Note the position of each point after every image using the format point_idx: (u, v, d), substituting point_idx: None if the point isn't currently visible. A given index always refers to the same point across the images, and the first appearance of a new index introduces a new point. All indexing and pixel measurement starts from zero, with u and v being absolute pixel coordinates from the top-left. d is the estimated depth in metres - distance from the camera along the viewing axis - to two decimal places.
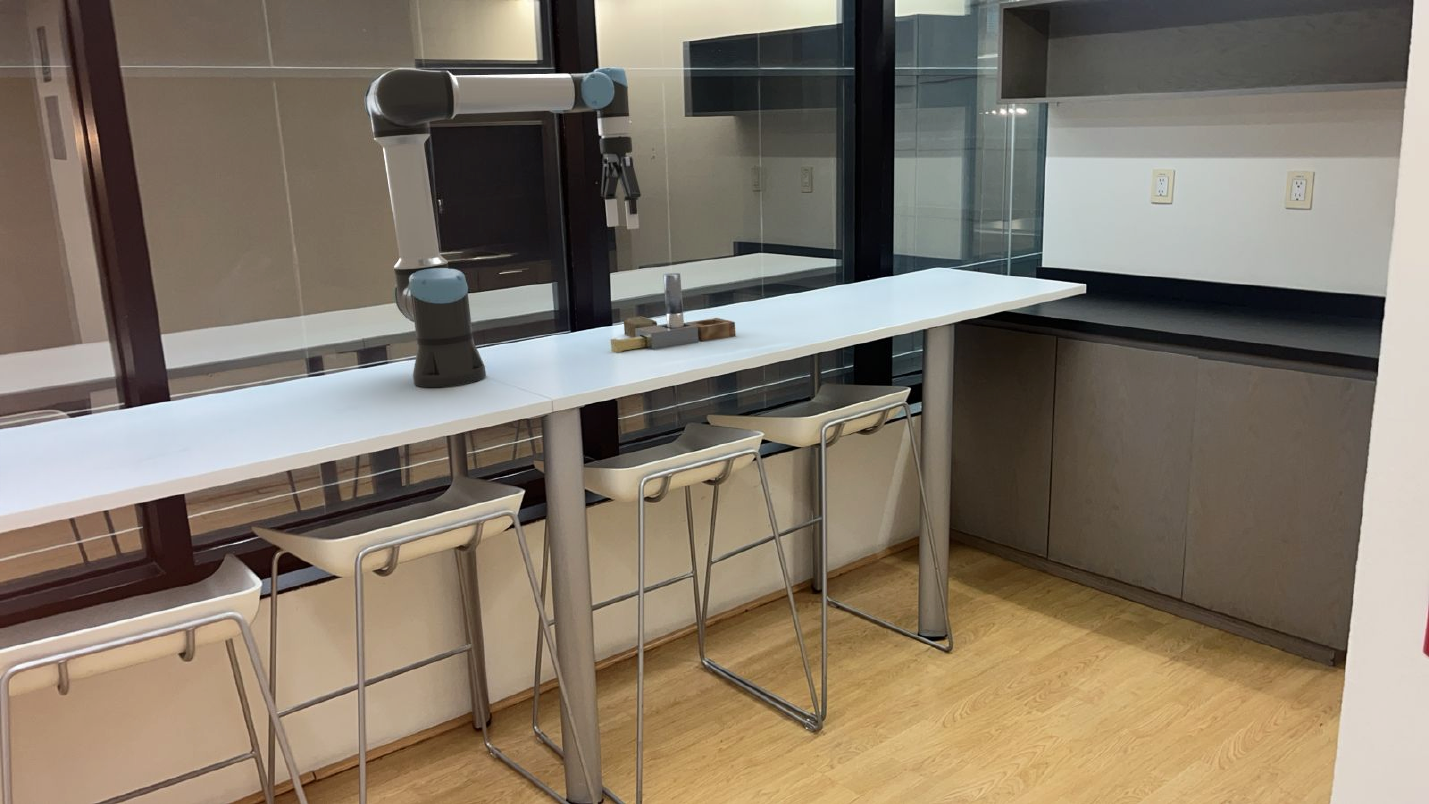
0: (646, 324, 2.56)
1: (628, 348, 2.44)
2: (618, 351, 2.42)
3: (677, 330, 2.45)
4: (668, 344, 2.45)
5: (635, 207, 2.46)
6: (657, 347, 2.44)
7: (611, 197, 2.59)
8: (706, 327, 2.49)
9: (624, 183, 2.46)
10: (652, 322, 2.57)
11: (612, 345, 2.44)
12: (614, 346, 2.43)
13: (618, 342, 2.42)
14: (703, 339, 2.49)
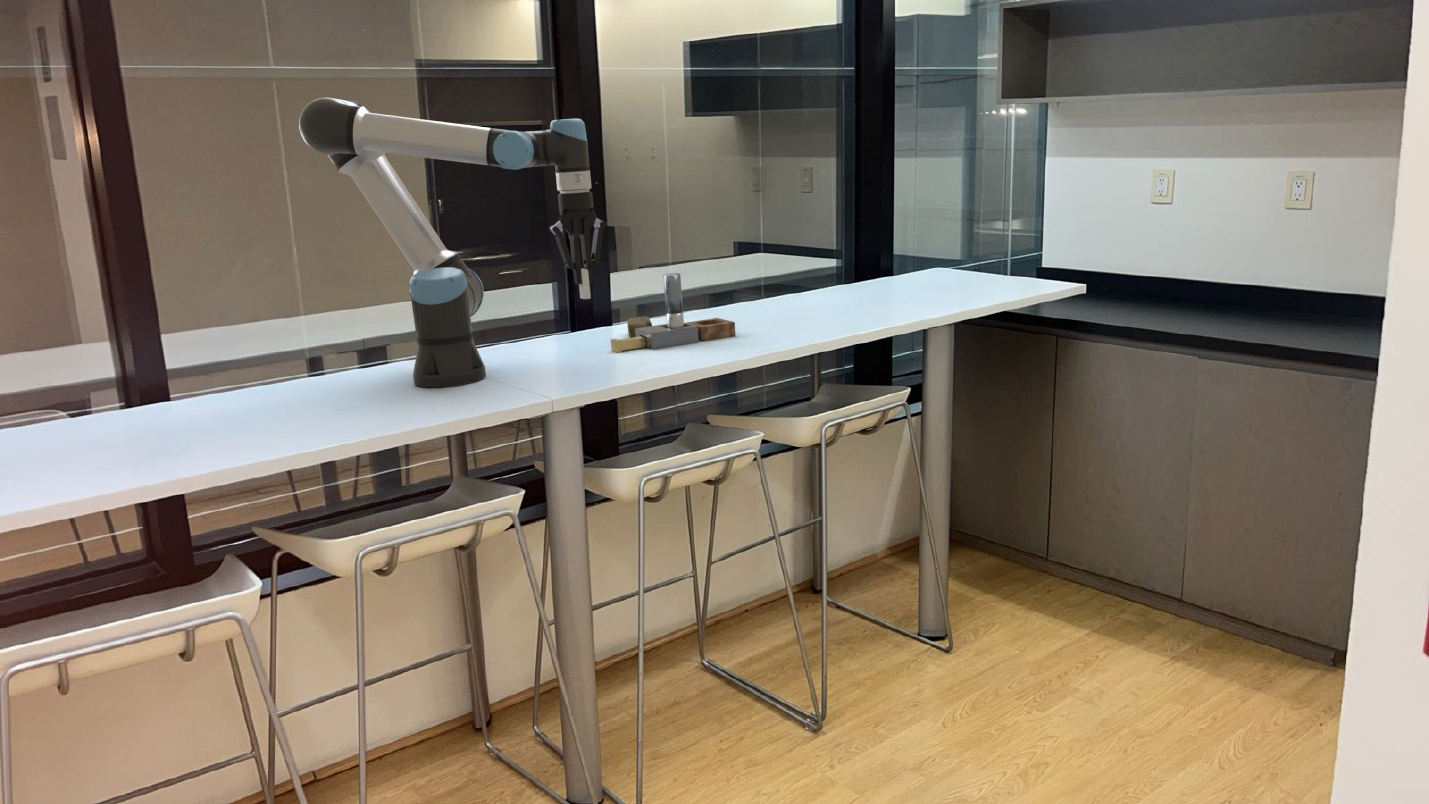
0: (640, 325, 2.56)
1: (628, 348, 2.44)
2: (618, 351, 2.42)
3: (677, 330, 2.45)
4: (668, 344, 2.45)
5: (575, 277, 2.36)
6: (657, 347, 2.44)
7: (585, 265, 2.36)
8: (706, 327, 2.49)
9: (571, 250, 2.35)
10: (646, 323, 2.56)
11: (612, 345, 2.44)
12: (614, 346, 2.43)
13: (618, 342, 2.42)
14: (703, 339, 2.49)
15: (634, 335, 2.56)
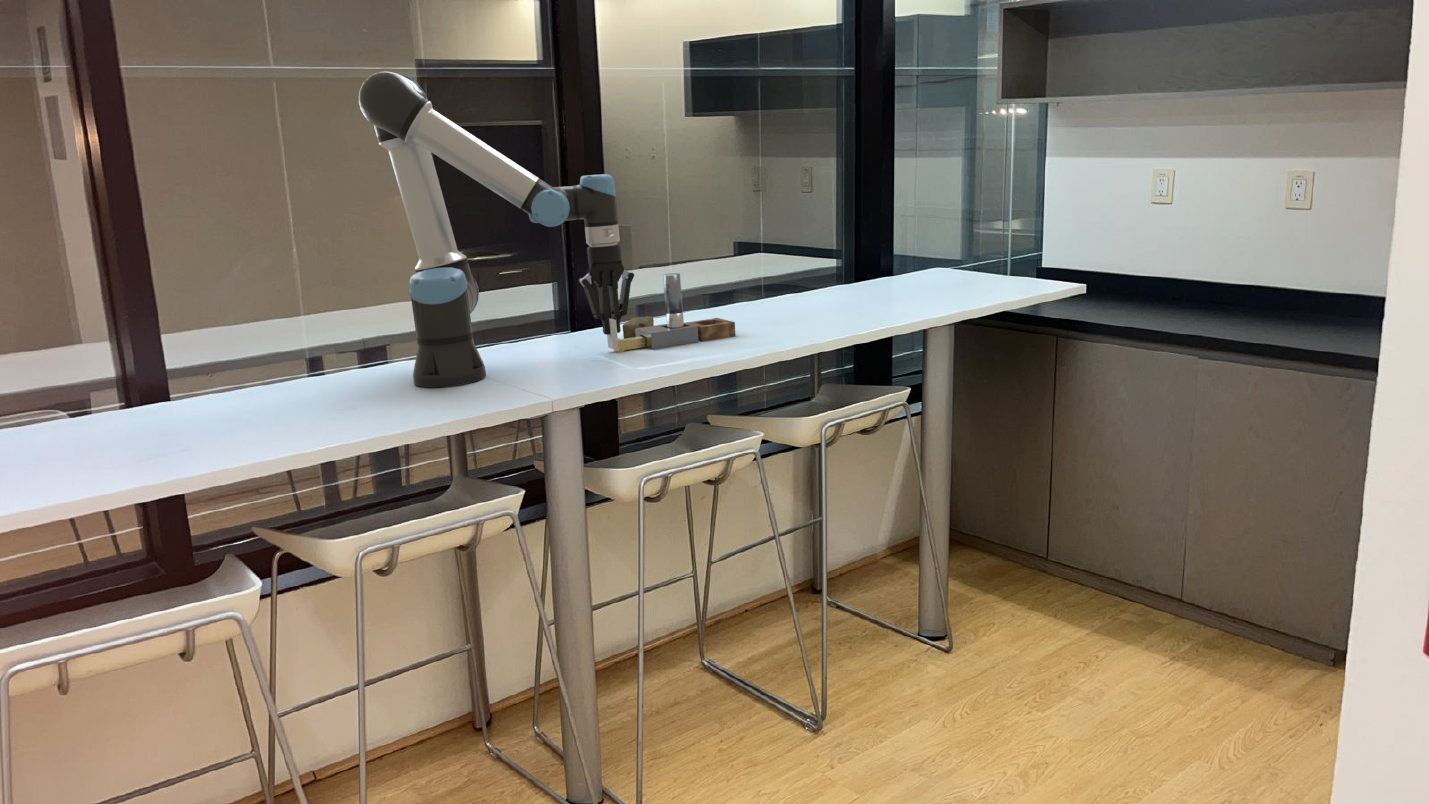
0: (632, 325, 2.56)
1: (630, 348, 2.44)
2: (620, 351, 2.43)
3: (677, 330, 2.45)
4: (668, 344, 2.45)
5: (604, 328, 2.41)
6: (657, 347, 2.44)
7: (613, 315, 2.41)
8: (706, 327, 2.49)
9: (599, 301, 2.40)
10: (639, 324, 2.56)
11: None
12: None
13: (620, 342, 2.42)
14: (703, 339, 2.49)
15: (627, 335, 2.57)
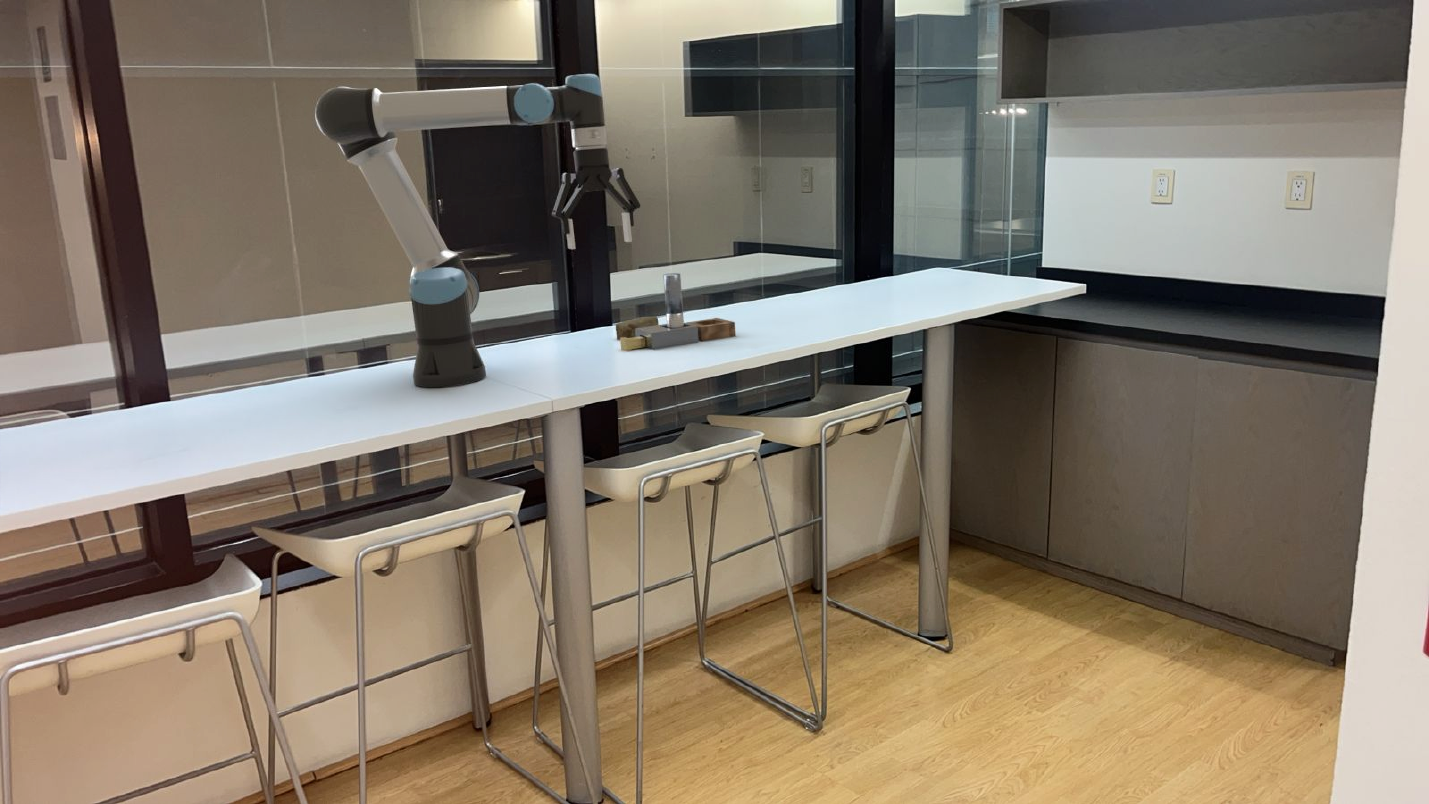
0: (623, 325, 2.57)
1: (637, 346, 2.45)
2: (628, 349, 2.43)
3: (677, 330, 2.45)
4: (668, 344, 2.45)
5: (563, 227, 2.32)
6: (657, 347, 2.44)
7: (627, 210, 2.38)
8: (706, 327, 2.49)
9: (569, 200, 2.33)
10: (629, 324, 2.56)
11: (622, 343, 2.45)
12: (624, 344, 2.44)
13: (628, 340, 2.43)
14: (703, 339, 2.49)
15: (618, 335, 2.59)
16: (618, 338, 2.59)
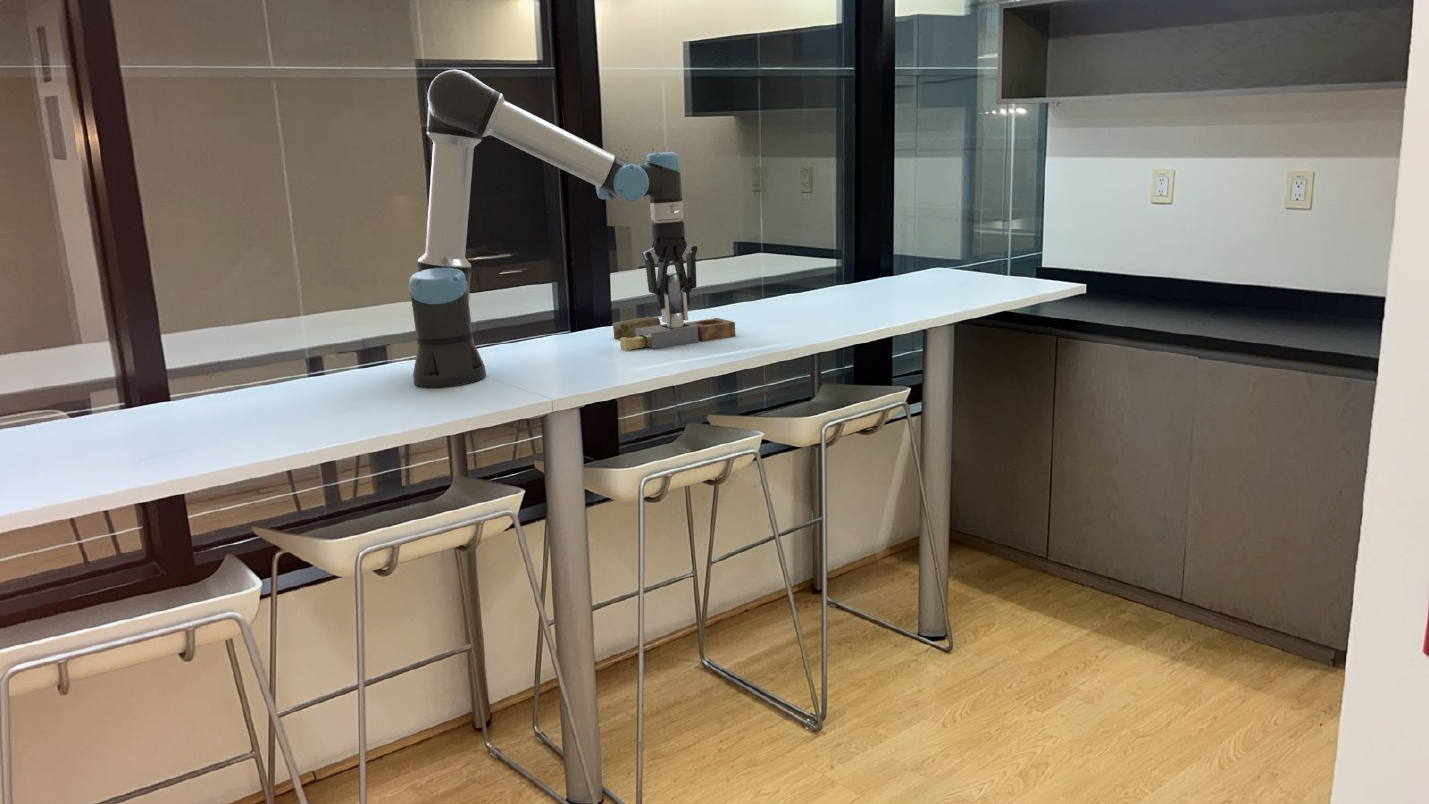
0: (616, 324, 2.59)
1: (637, 346, 2.45)
2: (628, 349, 2.43)
3: (677, 330, 2.45)
4: (668, 344, 2.45)
5: (659, 302, 2.46)
6: (657, 347, 2.44)
7: (683, 289, 2.49)
8: (706, 327, 2.49)
9: (658, 275, 2.46)
10: (621, 324, 2.58)
11: (622, 343, 2.45)
12: (624, 344, 2.44)
13: (628, 340, 2.43)
14: (703, 339, 2.49)
15: (614, 333, 2.61)
16: (614, 337, 2.61)
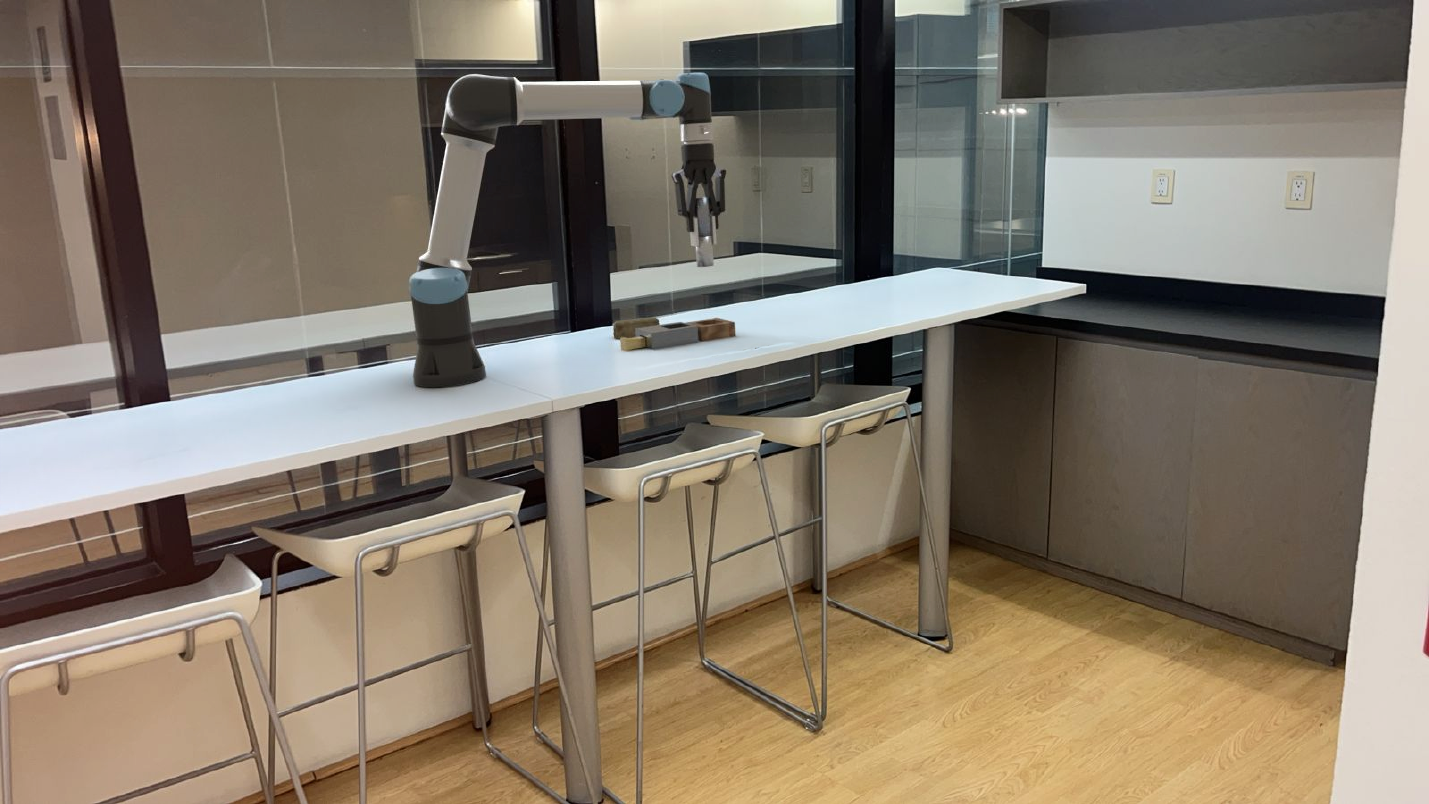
0: (614, 323, 2.61)
1: (637, 346, 2.45)
2: (628, 349, 2.43)
3: (677, 330, 2.45)
4: (668, 344, 2.45)
5: (688, 225, 2.46)
6: (657, 347, 2.44)
7: (712, 212, 2.49)
8: (706, 327, 2.49)
9: (687, 198, 2.46)
10: (616, 323, 2.59)
11: (622, 343, 2.45)
12: (624, 344, 2.44)
13: (628, 340, 2.43)
14: (703, 339, 2.49)
15: None
16: None
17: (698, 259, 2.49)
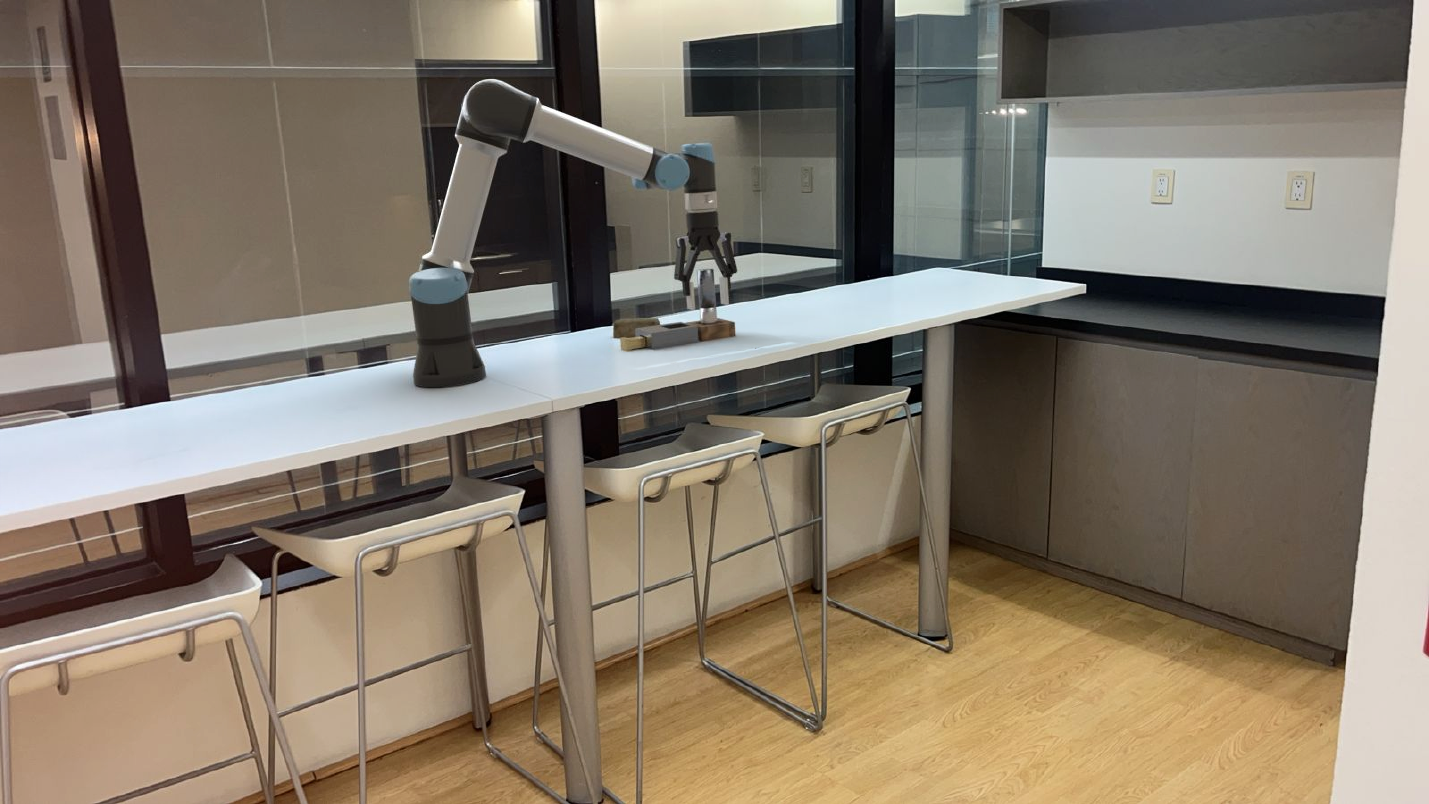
0: None
1: (637, 346, 2.45)
2: (628, 349, 2.43)
3: (677, 330, 2.45)
4: (668, 344, 2.45)
5: (684, 289, 2.49)
6: (657, 347, 2.44)
7: (724, 274, 2.53)
8: (706, 327, 2.49)
9: (686, 263, 2.49)
10: (615, 321, 2.62)
11: (622, 343, 2.45)
12: (624, 344, 2.44)
13: (628, 340, 2.43)
14: (703, 339, 2.49)
15: None
16: None
17: None
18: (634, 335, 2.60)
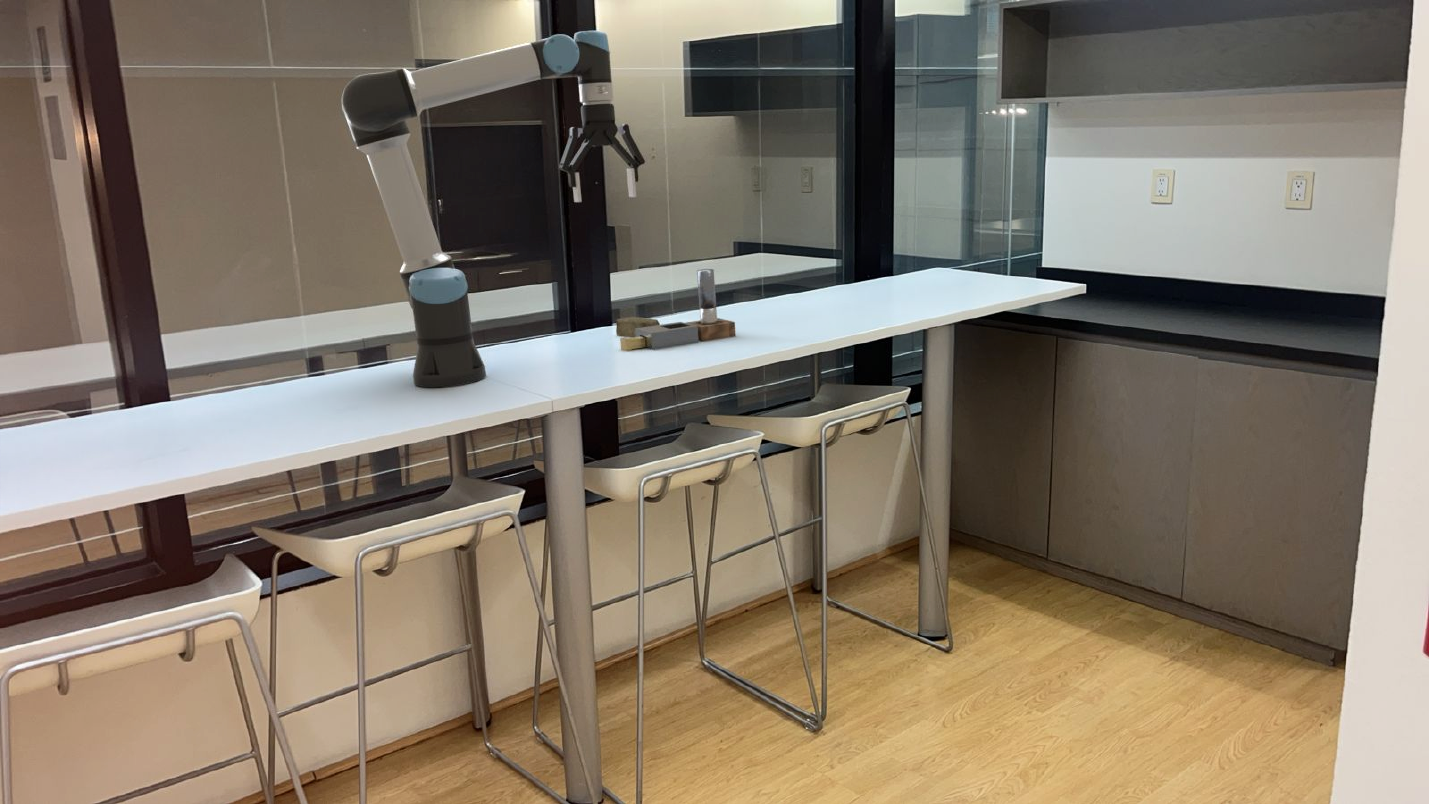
0: None
1: (637, 346, 2.45)
2: (628, 349, 2.43)
3: (677, 330, 2.45)
4: (668, 344, 2.45)
5: (570, 180, 2.38)
6: (657, 347, 2.44)
7: (632, 166, 2.45)
8: (706, 327, 2.49)
9: (576, 154, 2.39)
10: None
11: (622, 343, 2.45)
12: (624, 344, 2.44)
13: (628, 340, 2.43)
14: (703, 339, 2.49)
15: None
16: None
17: None
18: (630, 335, 2.61)
